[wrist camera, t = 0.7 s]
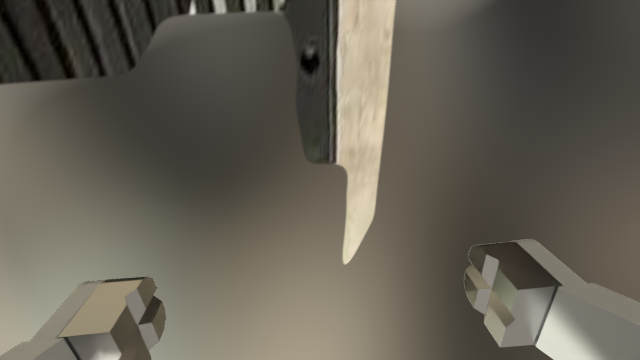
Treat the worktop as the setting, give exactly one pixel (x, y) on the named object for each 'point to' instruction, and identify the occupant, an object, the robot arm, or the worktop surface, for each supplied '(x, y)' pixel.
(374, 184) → the worktop surface
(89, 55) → the worktop surface
